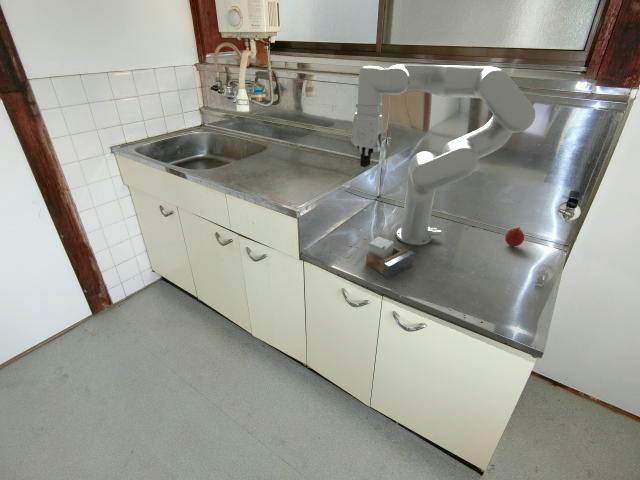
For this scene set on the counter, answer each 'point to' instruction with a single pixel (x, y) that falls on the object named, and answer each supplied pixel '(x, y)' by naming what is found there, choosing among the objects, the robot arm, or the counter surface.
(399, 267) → the backstop rail
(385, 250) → the skincare box
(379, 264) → the caddy
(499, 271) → the counter surface
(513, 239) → the onion
